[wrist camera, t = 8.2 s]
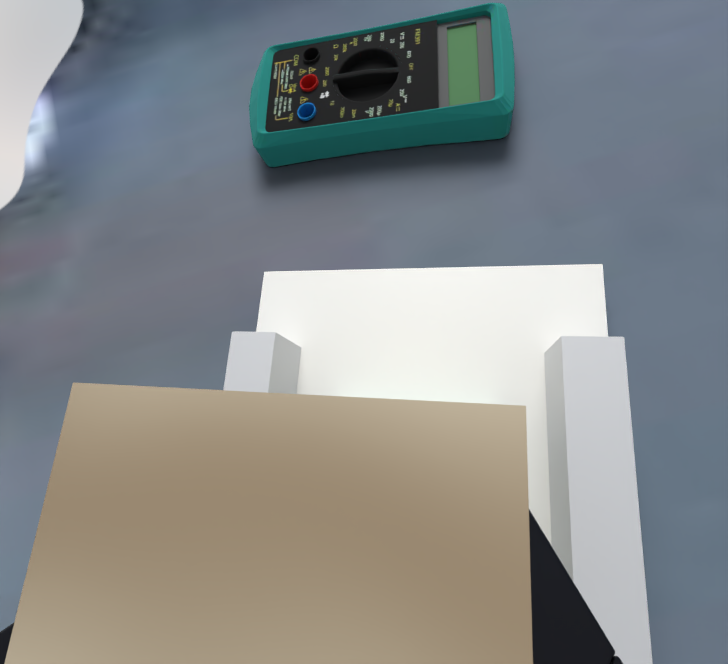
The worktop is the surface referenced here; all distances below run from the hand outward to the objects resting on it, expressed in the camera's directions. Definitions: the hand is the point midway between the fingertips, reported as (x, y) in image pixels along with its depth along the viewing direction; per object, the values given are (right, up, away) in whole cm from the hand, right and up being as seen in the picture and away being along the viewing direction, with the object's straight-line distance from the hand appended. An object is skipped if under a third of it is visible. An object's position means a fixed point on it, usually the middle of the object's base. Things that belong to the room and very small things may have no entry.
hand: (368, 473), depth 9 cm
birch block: (+1, -3, +6) cm, 7 cm away
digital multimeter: (+1, +17, +16) cm, 23 cm away
